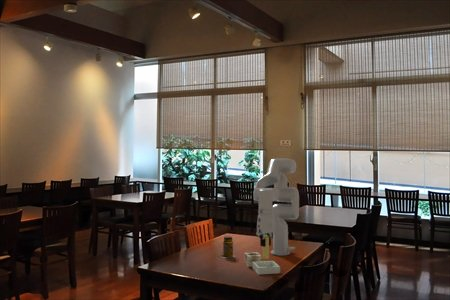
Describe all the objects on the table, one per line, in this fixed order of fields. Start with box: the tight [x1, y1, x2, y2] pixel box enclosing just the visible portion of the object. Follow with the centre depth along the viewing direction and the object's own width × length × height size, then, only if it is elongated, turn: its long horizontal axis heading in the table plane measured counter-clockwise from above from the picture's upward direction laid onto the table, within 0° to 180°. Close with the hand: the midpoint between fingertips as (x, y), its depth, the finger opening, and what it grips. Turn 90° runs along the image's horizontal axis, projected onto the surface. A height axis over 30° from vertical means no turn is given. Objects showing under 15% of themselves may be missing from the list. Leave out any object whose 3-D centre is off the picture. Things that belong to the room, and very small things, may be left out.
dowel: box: [261, 234, 270, 259], centre depth 216 cm, size 4×4×12 cm
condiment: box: [218, 236, 236, 259], centre depth 247 cm, size 7×8×12 cm
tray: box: [252, 260, 281, 276], centre depth 216 cm, size 12×12×4 cm
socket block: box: [243, 251, 262, 268], centre depth 228 cm, size 8×8×6 cm
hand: (265, 245), depth 216 cm, fingers closed on dowel, 3 cm apart
